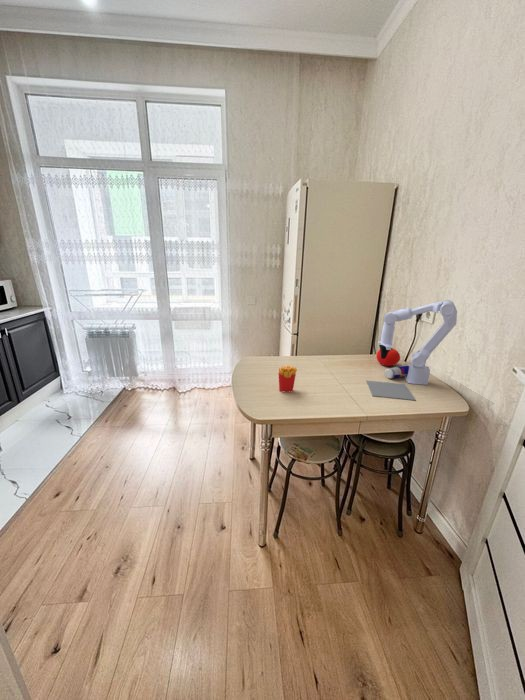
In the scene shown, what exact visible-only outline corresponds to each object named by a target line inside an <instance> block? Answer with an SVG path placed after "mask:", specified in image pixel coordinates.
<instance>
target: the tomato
mask: <svg viewBox="0 0 525 700" xmlns="http://www.w3.org/2000/svg"><path fill="white" fill-rule="evenodd" d="M376 360H377V362H378V363H379V364H381V365H382V366H385V367H388V366H389V367H391V366H394V365H397V364H398V363H399V362H400V360H401V355H400V353H399V351H398V350H397V349H395V348H394V347H391V350H390V351H389V352H388V354H387V356H386V358H385V359H381V352H380V349H378V350H377V352H376Z"/></svg>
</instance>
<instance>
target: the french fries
mask: <svg viewBox="0 0 525 700" xmlns="http://www.w3.org/2000/svg"><path fill="white" fill-rule="evenodd" d="M297 371H298V368H297V367H294V366H291V365H287V366H281V367H278V386H279V387H278V388H279V389H278V390H279V392H281V391H285V392H284V393H292V392H293V391H294V386H295V381H296V373H297ZM289 391H290V392H289ZM291 391H292V392H291Z"/></svg>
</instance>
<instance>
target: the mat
mask: <svg viewBox="0 0 525 700" xmlns="http://www.w3.org/2000/svg"><path fill="white" fill-rule="evenodd" d="M366 384H367V386H368V388H369V391H370V393H371V395H372V397H377V398H383V399H384V398H386V399H396V400H406V401H414V402H416V399H415V397H414V395H413V394H412V393H411V391H410V389H409V388H408V387H407V385H406V384H404V383H397V382H396V383H394V382H389V381H387V382H385V381H376V380H375V381H374V380H366Z"/></svg>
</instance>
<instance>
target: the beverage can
mask: <svg viewBox="0 0 525 700" xmlns="http://www.w3.org/2000/svg"><path fill="white" fill-rule="evenodd" d="M409 366H410V365H407V364H405V365H399V366H394V367H390V368H386V369H385V370H384V376H385V377H386V378H387V379H388V380H390V379H396V378H402V377H407V375H408V371H409Z"/></svg>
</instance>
